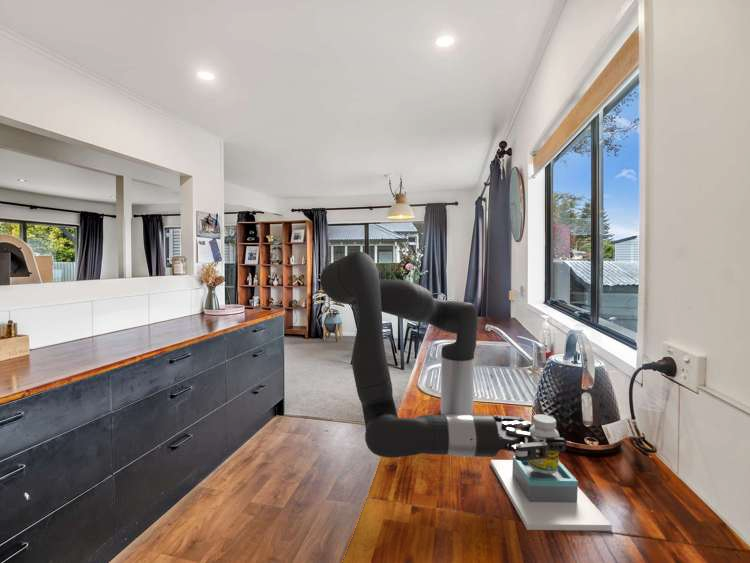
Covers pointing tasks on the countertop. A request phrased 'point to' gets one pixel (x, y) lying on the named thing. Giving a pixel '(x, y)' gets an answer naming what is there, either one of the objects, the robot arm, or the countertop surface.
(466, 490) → the countertop surface
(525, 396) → the countertop surface
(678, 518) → the countertop surface
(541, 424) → the supplement bottle
